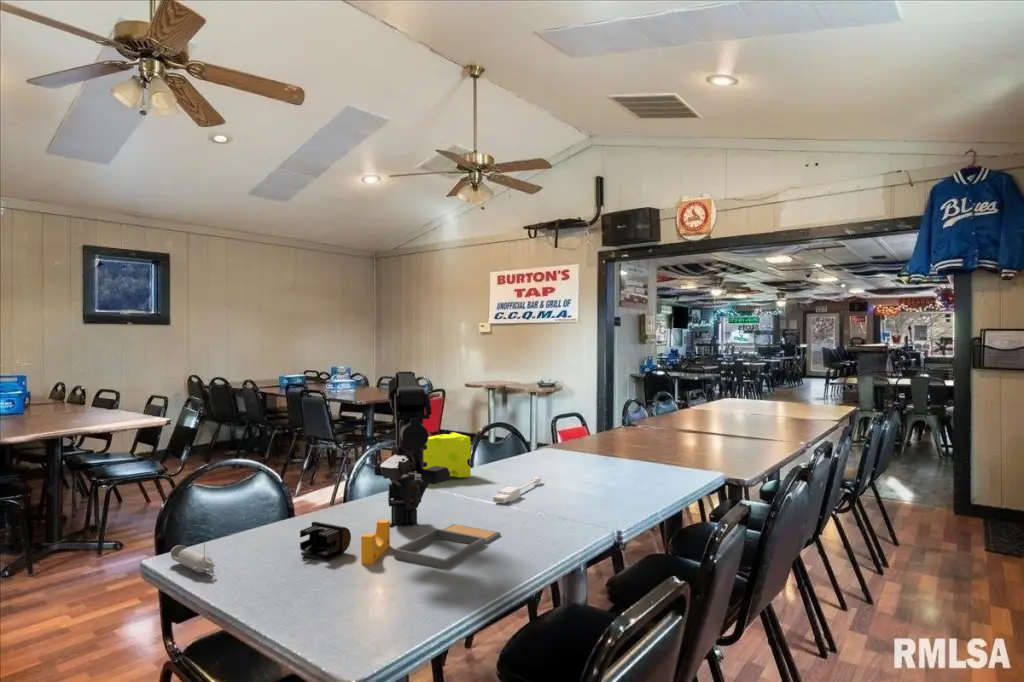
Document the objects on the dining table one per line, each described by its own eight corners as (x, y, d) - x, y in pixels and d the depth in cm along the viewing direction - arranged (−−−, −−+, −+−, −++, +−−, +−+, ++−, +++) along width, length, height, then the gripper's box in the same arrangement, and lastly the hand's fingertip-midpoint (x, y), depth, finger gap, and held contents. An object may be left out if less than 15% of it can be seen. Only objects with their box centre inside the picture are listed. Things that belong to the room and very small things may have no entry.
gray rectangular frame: (394, 558, 134) (394, 549, 134) (436, 536, 149) (436, 528, 149) (445, 569, 127) (445, 560, 127) (484, 545, 142) (484, 537, 142)
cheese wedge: (464, 482, 205) (463, 441, 205) (410, 480, 209) (410, 440, 209) (476, 470, 224) (476, 432, 224) (427, 468, 228) (427, 431, 228)
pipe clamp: (372, 545, 143) (372, 519, 143) (389, 546, 142) (389, 520, 142) (354, 564, 131) (353, 536, 131) (372, 565, 131) (372, 536, 131)
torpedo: (164, 562, 133) (164, 533, 133) (185, 555, 137) (185, 528, 137) (202, 581, 123) (202, 550, 123) (224, 573, 126) (224, 544, 126)
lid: (438, 535, 150) (438, 531, 150) (453, 527, 156) (453, 523, 156) (486, 545, 143) (486, 540, 143) (500, 536, 149) (500, 531, 149)
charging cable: (545, 483, 204) (545, 474, 204) (505, 505, 177) (505, 495, 177) (533, 482, 207) (533, 473, 207) (492, 504, 179) (491, 493, 179)
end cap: (351, 552, 139) (351, 524, 139) (329, 562, 132) (329, 533, 132) (321, 545, 143) (320, 518, 143) (298, 555, 137) (298, 526, 137)
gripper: (357, 443, 133) (357, 510, 133) (420, 451, 124) (420, 523, 124) (390, 436, 143) (390, 499, 143) (451, 443, 133) (451, 510, 134)
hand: (411, 507), depth 136 cm, fingers closed
